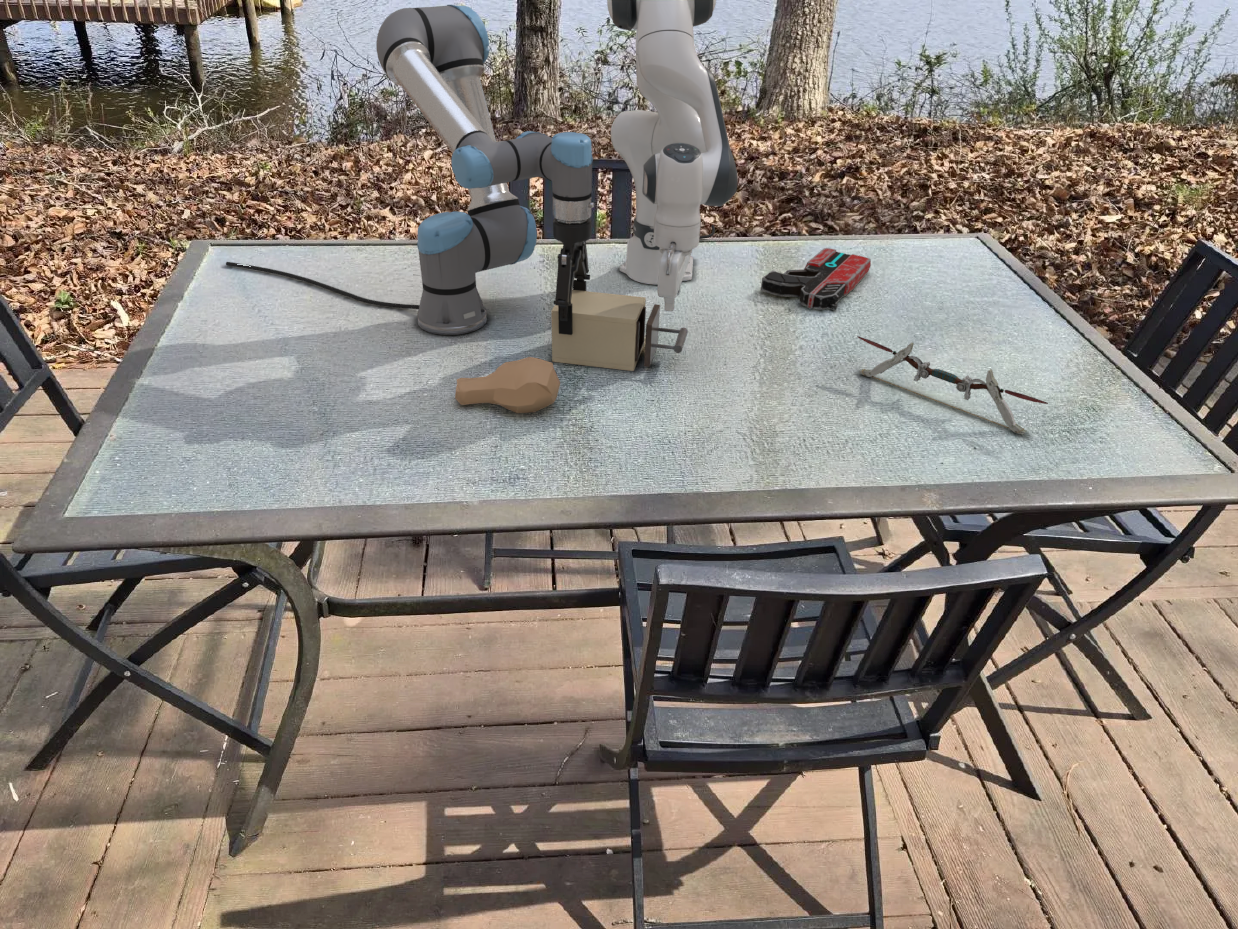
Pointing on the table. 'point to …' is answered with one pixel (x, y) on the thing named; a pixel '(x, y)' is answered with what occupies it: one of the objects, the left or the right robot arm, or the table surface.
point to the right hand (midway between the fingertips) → (672, 301)
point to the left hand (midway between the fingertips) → (572, 321)
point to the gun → (819, 279)
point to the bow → (962, 385)
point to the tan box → (599, 331)
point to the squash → (513, 386)
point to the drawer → (654, 335)
